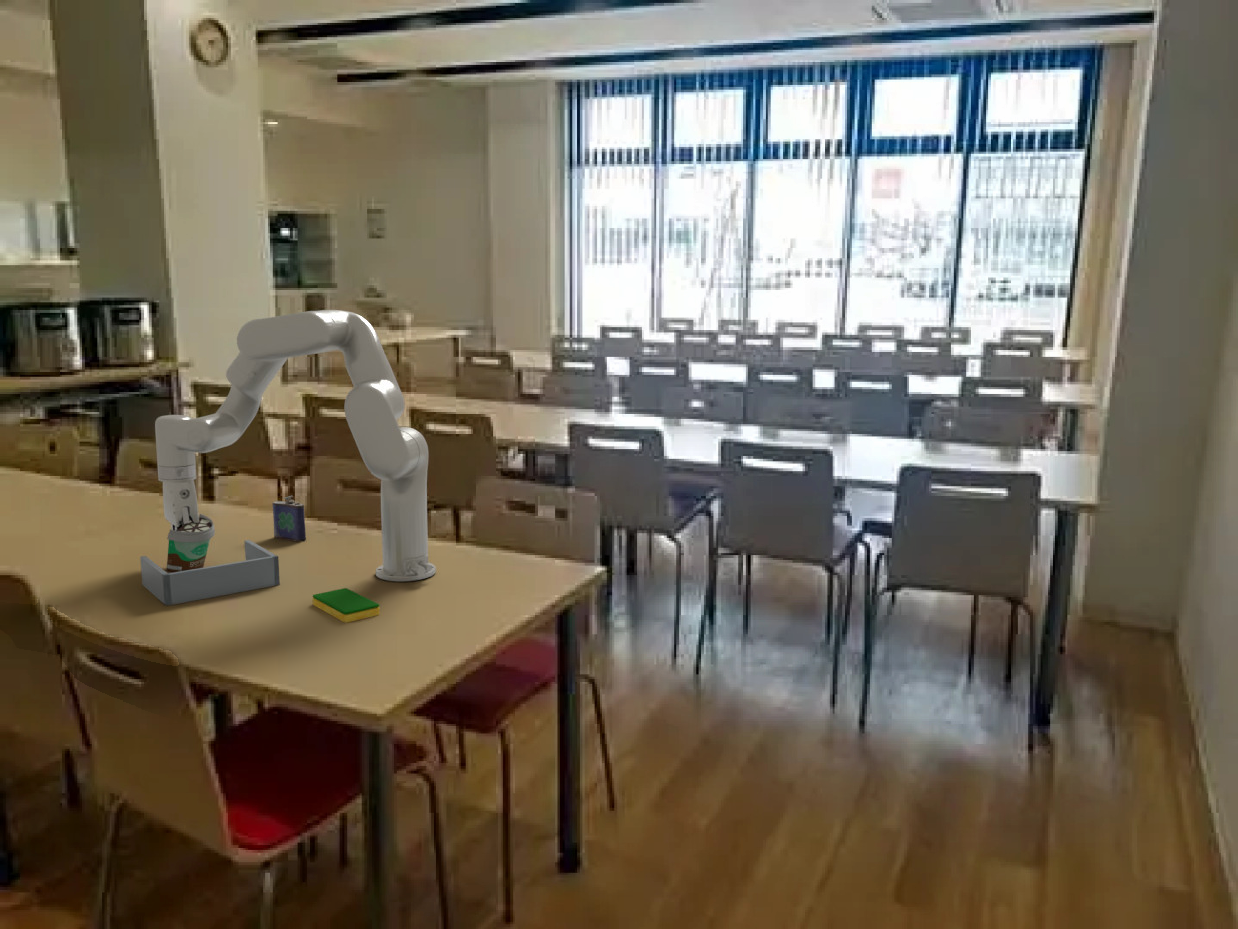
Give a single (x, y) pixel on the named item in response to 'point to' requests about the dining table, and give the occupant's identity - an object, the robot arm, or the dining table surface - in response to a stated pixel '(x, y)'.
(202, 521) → the food container
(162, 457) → the robot arm
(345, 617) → the dish sponge
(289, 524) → the flask
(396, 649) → the dining table surface
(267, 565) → the grey u-shaped frame
